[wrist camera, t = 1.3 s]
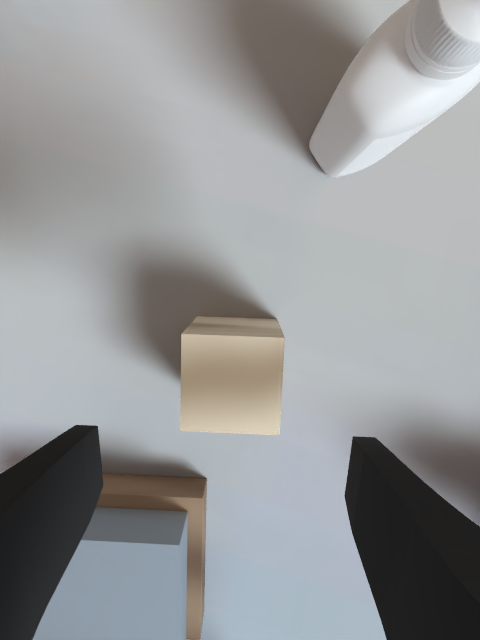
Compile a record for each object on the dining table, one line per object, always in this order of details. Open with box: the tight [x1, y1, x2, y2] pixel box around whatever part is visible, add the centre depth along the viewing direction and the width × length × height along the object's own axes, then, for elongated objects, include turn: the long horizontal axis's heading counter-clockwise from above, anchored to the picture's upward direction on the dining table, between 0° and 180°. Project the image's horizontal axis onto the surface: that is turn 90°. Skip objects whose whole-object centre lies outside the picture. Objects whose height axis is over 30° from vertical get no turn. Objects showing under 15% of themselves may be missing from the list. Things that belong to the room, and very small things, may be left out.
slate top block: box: [33, 507, 188, 640], centre depth 21 cm, size 8×8×2 cm
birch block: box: [180, 316, 285, 435], centre depth 19 cm, size 4×4×5 cm
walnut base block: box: [96, 473, 207, 640], centre depth 23 cm, size 9×9×2 cm
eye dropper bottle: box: [309, 0, 480, 178], centre depth 14 cm, size 4×6×12 cm
